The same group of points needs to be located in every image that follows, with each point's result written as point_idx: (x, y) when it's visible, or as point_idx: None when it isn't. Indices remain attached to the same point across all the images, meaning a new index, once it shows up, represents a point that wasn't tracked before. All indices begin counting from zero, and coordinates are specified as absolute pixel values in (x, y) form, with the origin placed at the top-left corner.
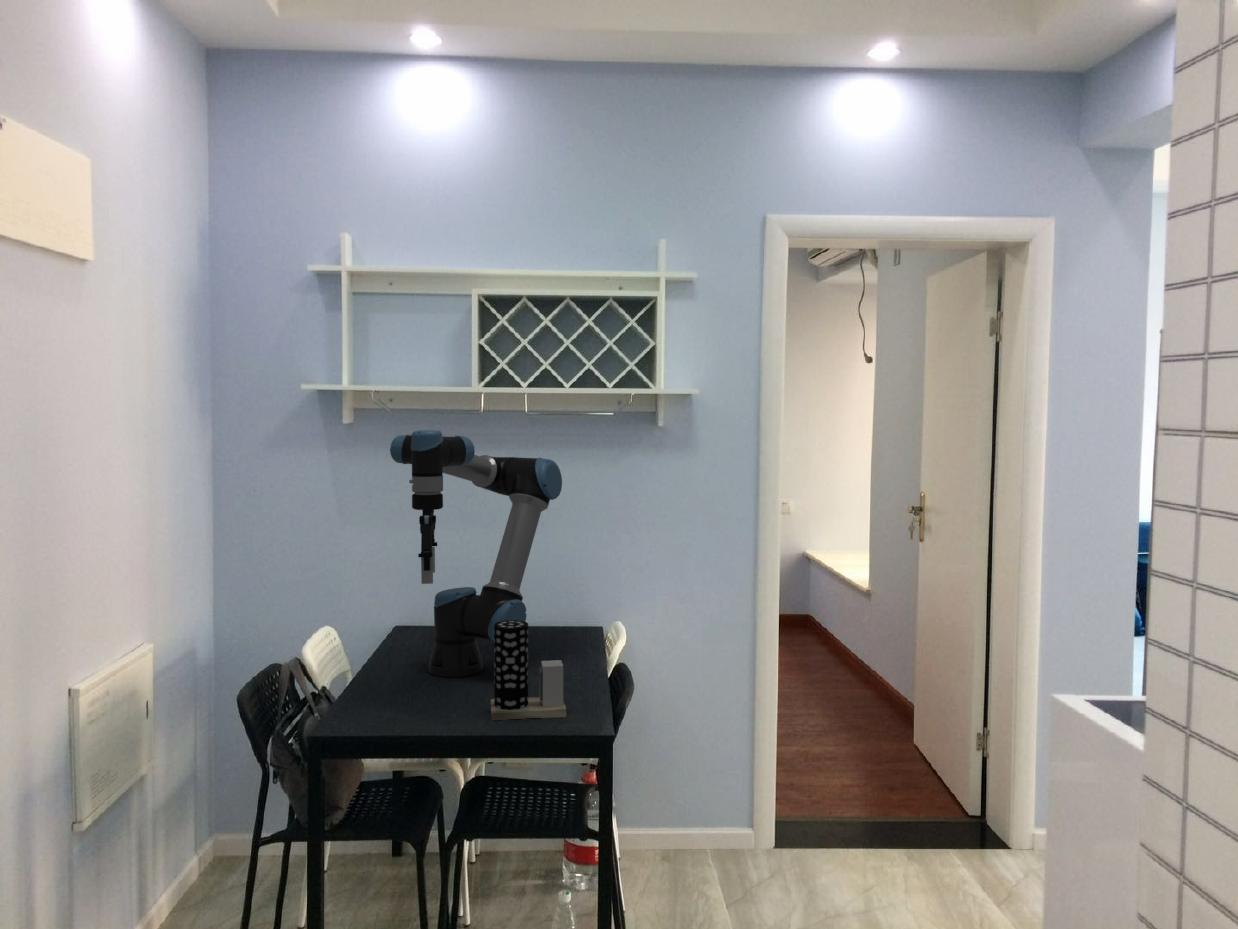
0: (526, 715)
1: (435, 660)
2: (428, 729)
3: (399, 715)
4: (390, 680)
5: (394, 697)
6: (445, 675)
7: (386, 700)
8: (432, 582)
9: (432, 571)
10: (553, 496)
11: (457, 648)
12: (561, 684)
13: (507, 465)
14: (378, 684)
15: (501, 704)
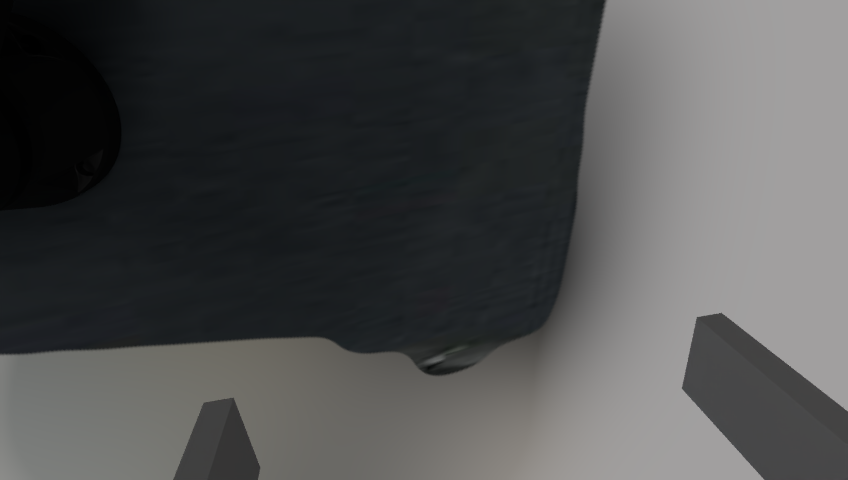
0: None
1: (69, 184)
2: (558, 112)
3: (455, 199)
4: (181, 280)
5: (322, 239)
6: (118, 135)
7: (346, 252)
8: (726, 321)
9: (818, 390)
10: None
11: (29, 111)
12: None
13: None
14: (220, 299)
15: None
